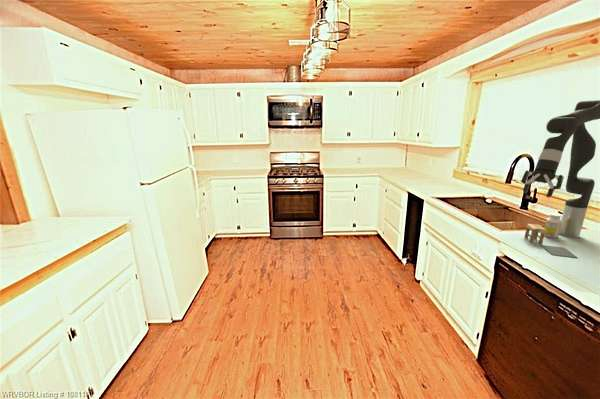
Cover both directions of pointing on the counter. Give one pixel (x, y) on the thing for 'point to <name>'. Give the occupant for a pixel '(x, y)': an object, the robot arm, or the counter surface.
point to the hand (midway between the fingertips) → (536, 195)
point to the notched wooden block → (535, 232)
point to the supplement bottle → (553, 225)
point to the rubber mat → (558, 251)
